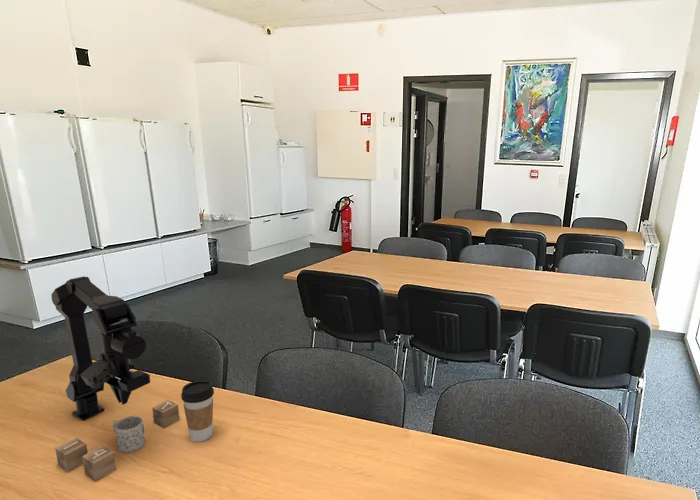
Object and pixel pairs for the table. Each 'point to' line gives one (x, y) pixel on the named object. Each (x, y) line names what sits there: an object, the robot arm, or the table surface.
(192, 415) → the coffee cup
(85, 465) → the walnut block four
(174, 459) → the table surface
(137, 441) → the mug
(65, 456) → the walnut block one
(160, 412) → the brown and beige block
